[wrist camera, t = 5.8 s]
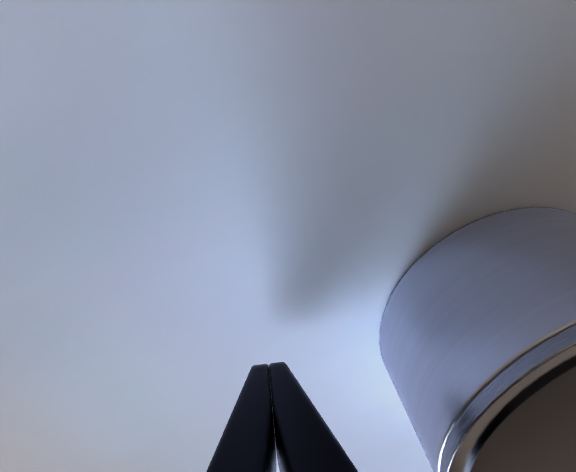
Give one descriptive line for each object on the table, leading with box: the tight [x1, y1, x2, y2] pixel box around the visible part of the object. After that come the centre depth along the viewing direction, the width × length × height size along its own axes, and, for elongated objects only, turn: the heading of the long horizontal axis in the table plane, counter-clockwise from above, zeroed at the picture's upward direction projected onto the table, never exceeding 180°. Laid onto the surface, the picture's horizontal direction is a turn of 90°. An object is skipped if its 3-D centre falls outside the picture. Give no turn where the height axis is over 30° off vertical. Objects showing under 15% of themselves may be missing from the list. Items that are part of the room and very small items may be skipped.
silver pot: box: [379, 208, 576, 472], centre depth 9 cm, size 7×7×4 cm
